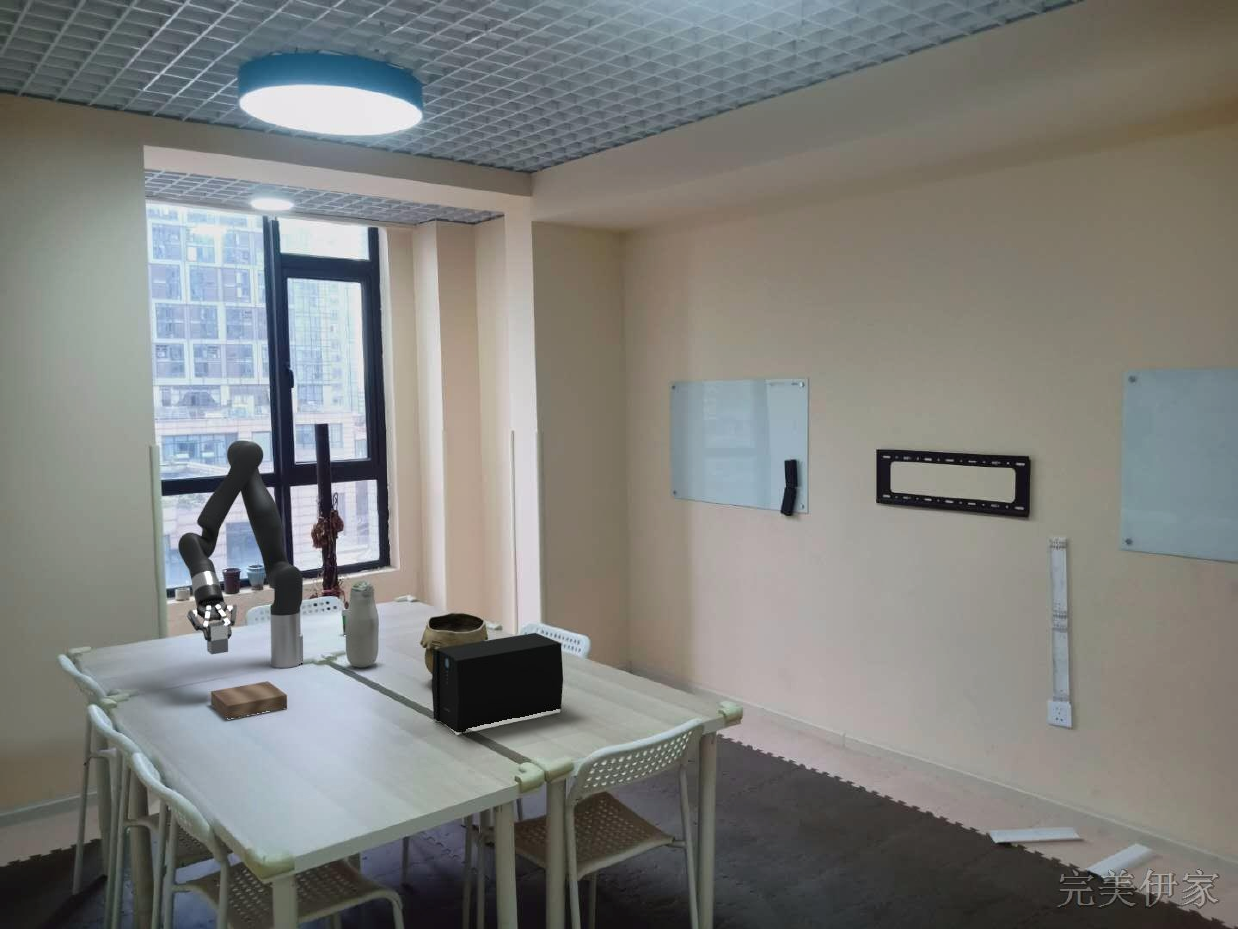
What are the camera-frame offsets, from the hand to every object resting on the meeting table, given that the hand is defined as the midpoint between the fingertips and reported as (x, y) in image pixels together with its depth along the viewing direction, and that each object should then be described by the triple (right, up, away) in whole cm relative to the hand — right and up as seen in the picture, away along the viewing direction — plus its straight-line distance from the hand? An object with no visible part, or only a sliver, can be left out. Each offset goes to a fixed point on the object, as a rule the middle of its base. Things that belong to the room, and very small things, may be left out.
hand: (219, 638), depth 274 cm
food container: (+18, -13, +79) cm, 82 cm away
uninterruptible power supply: (+83, -20, -10) cm, 86 cm away
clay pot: (+65, -17, +20) cm, 70 cm away
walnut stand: (+11, -18, -5) cm, 22 cm away
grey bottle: (+32, -16, +36) cm, 50 cm away
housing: (-1, -4, +2) cm, 5 cm away
